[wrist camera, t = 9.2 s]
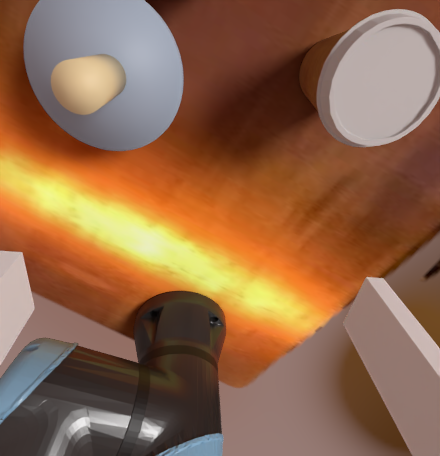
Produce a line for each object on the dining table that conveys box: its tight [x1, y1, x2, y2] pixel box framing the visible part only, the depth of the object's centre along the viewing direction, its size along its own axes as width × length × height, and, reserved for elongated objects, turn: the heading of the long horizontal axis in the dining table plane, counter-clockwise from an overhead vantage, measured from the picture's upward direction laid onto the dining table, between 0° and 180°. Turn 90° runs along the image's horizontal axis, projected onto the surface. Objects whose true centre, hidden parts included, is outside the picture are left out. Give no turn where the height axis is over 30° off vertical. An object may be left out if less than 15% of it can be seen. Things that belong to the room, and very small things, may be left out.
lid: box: [24, 0, 184, 151], centre depth 22 cm, size 13×13×8 cm
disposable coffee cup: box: [299, 9, 440, 147], centre depth 27 cm, size 10×10×12 cm
